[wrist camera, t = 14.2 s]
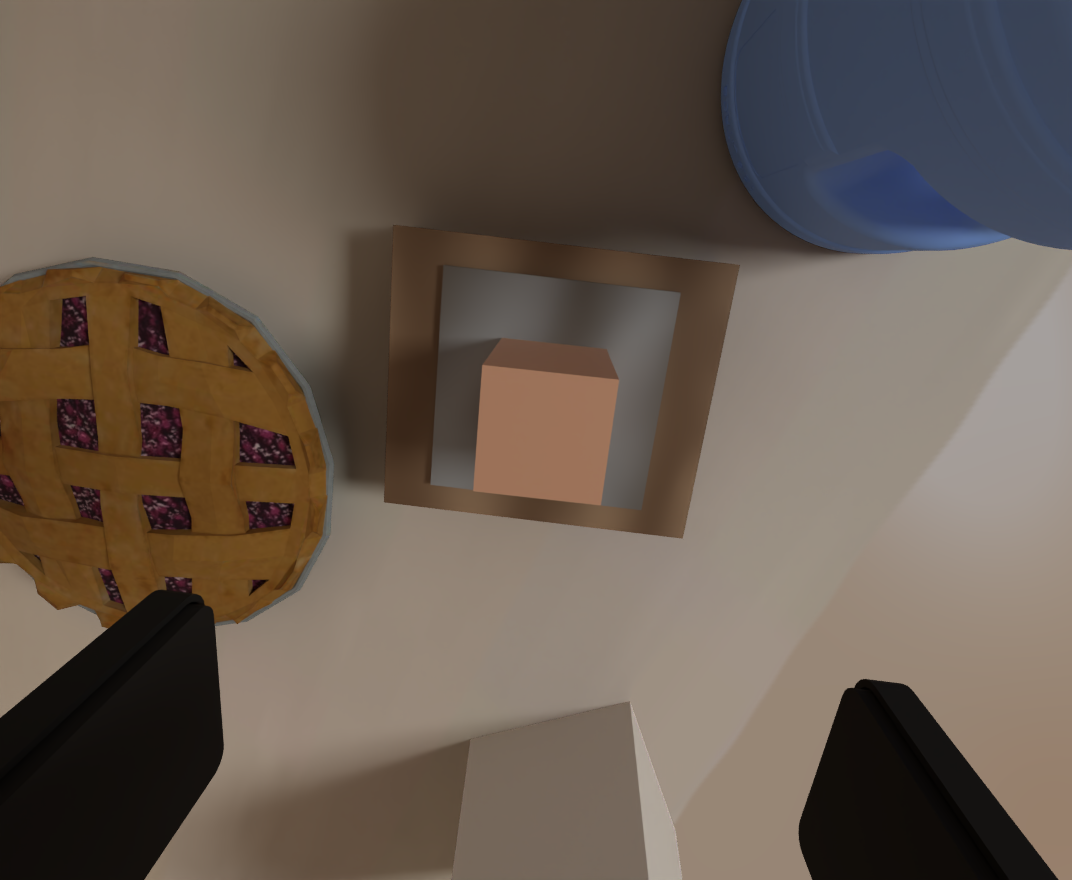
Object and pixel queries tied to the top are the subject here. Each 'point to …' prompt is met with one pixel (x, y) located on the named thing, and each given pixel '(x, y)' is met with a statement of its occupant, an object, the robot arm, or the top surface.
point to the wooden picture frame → (563, 318)
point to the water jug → (904, 120)
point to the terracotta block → (545, 421)
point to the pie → (154, 444)
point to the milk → (565, 804)
